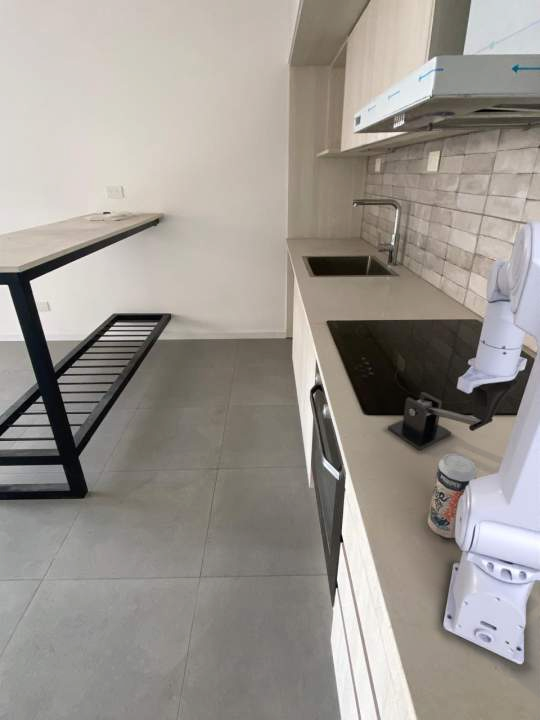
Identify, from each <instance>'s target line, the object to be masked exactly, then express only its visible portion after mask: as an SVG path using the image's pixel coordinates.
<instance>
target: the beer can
mask: <svg viewBox="0 0 540 720" xmlns="http://www.w3.org/2000/svg"><path fill="white" fill-rule="evenodd" d="M437 464H438V465H437V469H436V474H435V480H434V485H433V491H432V496H431V501H430V505H429V510H428V515H427V524H428V526H429V527H430V530H432V531H433V532H434V533H435V534H437V535H439V536H441V537H443V538H446V539H447V538H448V539H452V538H454V539H455V523H456V513H457V507H458V502H459V499H460V497H461V496H462V495H463V493H464V491H465V488H466V486H467V485H469V481H470V480H473V479H476V478H477V476H478V471H477V468H476V466H475V464H474V461H473V460H471V459H470V458H468V457H467V456H465V455H463V454H459V453H448V454H446V455H445V456H444V457H443V458H441V459H440V460H439V461H438V463H437Z"/></svg>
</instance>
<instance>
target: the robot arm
mask: <svg viewBox="0 0 540 720" xmlns="http://www.w3.org/2000/svg"><path fill="white" fill-rule="evenodd" d="M485 293H486V301H487V304H486V309H485V313H484V318H483V323H482V327H481V331H480V337H479V341H478V346H477V350H476V356H475V357H473V358H470V359H468V361H467V364H468V365H469V368H468V369H467V370H466V372H465V373H464V374H463V375H461V376H459V377H458V380H457V386H456V389H457V390H460V391H461V392H464V393H466V394H467V395H468V394H469V395H470V397H471V406H472V408H471V409H472V417H473V418H477V419H479V420H481V421H483V422H485V421H487V420H488V419H491V418H492V419H493V417H494V416H495V415H496V413H497V411H498V409H499V408H500V406H501V405H502V403H503V402H504V400H505V399H506V397H507V396H508V395H509V394H510V393H511V392H512V391H513V390H514V389H515V388H516V387H517V386H518V383H519V382H518V380H517V379H516V377H517V375H518V373H519V372H522V371H523V370H526V369H525V368H526V366H527V362H528V359H527V358H525V357H522V356H521V352H522V349H523V345H524V342H525V338H526V334H527V335H529V336H531V337H533V338H534V339H535V343H536V347H537V352H536V355H535V357H534V362H533V365H532V367H531V371H530V373H529V376H528V380H527V382H526V386H525V388H524V392H523V396H522V398H521V402H520V404H519V408H518V410H517V414H516V416H515V420H514V423H513V426H512V429H511V433H510V435H509V438H508V441H507V444H506V448H505V451H504V453H503V457H502V460H501V462H500V466H499V469H498V471H497V472H495V473H492V474H488V475H484V476H480V477H476V479H473V480H470V481H469V485H467V486H466V488H465V491H464V493H463V495H462V496H461V497H460V499H459V502H458V507H457V513H456V523H455V537H454V539H455V542H456V544H457V546H458V547H459V549H460V550H461V551H462V553H461V556H460V561H459V562H455V563H453V566H452V572H451V577H450V581H449V587H448V595H447V600H446V606H445V612H444V617H443V623H442V626H443V628H444V629H445V631H448V632H450V633H452V634H454V635H456V636H459V637H460V638H463V639H464V640H467V641H469V642H471V643H472V644H473V643H474V644H475V645H477V646H479V647H482V648H483V649H486V650H488V651H490V652H492V653H494V654H496V655H498V656H501V657H503V658H505V659H507V660H509V661H512V662H513V663H515V664H517V665H523V664H524V661H525V629H526V625H527V603H528V600H529V597H530V595H531V592H532V590H533V587H534V585H535V582H536V581H540V220H536V219H535V220H534V219H532V220H529V221H528V222H526V224H525V225H523V226H522V227H521V228H520V229H519V231H518V232H517V235H516V237H515V240H514V244H513V247H512V249H511V255H510V259H508V260H507V261H502V260H500V259H495V260H494V261H493V263H492V265H491V267H490V269H489V273H488V277H487V283H486V292H485Z"/></svg>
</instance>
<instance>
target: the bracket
mask: <svg viewBox="0 0 540 720" xmlns="http://www.w3.org/2000/svg"><path fill="white" fill-rule="evenodd" d="M420 399H421V400H425V401H430V402H432V407H435V408H438V409H442V405H443V401H442V400H441V399H439V398H437V397H435V396H433V395H431V394H429V393H427V392H425V391H422V392H420V394H419V400H420ZM427 410H428V407H426V406H424V405H422V404H421V403H419V402H417V400H415V399H414V398H412V397H407V398H406V399H405V405H404V412H403V418H402V420H399V421H398V422H395V423H392V424H390V425H388V426H387V431H388V432H390V433H391V434H392V435H395V436H396V437H398V438H399V439H400V440H402V441H404V442H405V443H406V444H407V445H409V446H411V447H412V448H414V449H415V450H417V451H418V452H420V451H422V450H424V449H426V448H428V447H431V446H433V445H434V444H436V443H438V442H440V441H442V440H445V439H447V438H449V437H451V435H452V431H451V430H448V429H447V428H445V427H443V426H442V425H440V424H439V421H440V416H437V415H434V414H431V415H428V416H427Z"/></svg>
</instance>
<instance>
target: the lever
mask: <svg viewBox="0 0 540 720" xmlns="http://www.w3.org/2000/svg"><path fill="white" fill-rule="evenodd" d="M416 401H417V402H419V403H421V404H422V405H424V406H426V407H428V410H427V416H428V415H431V414H434V415H437V416H439V417H440V418H441V417H442V418H445V419H447V420H452V421H455V422H459V423H462V424H466V425H469V426H468V429H469V431H471V432H474V431H476V430H479V429H480V428H482V427H484V426H486V425H488V424H491V423H492V422H493V417H492V418H491V419H488V420H487V421H485V422H483V421H481V420H479V419H477V418H475V417H473V416H469V415H465V414H461V413H458V412H454V411H450V410H446V409H443V408H441V409H438V408H435V407H432V402H430V401H425V400H421V399H420V398H419V399H418V400H416Z"/></svg>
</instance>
